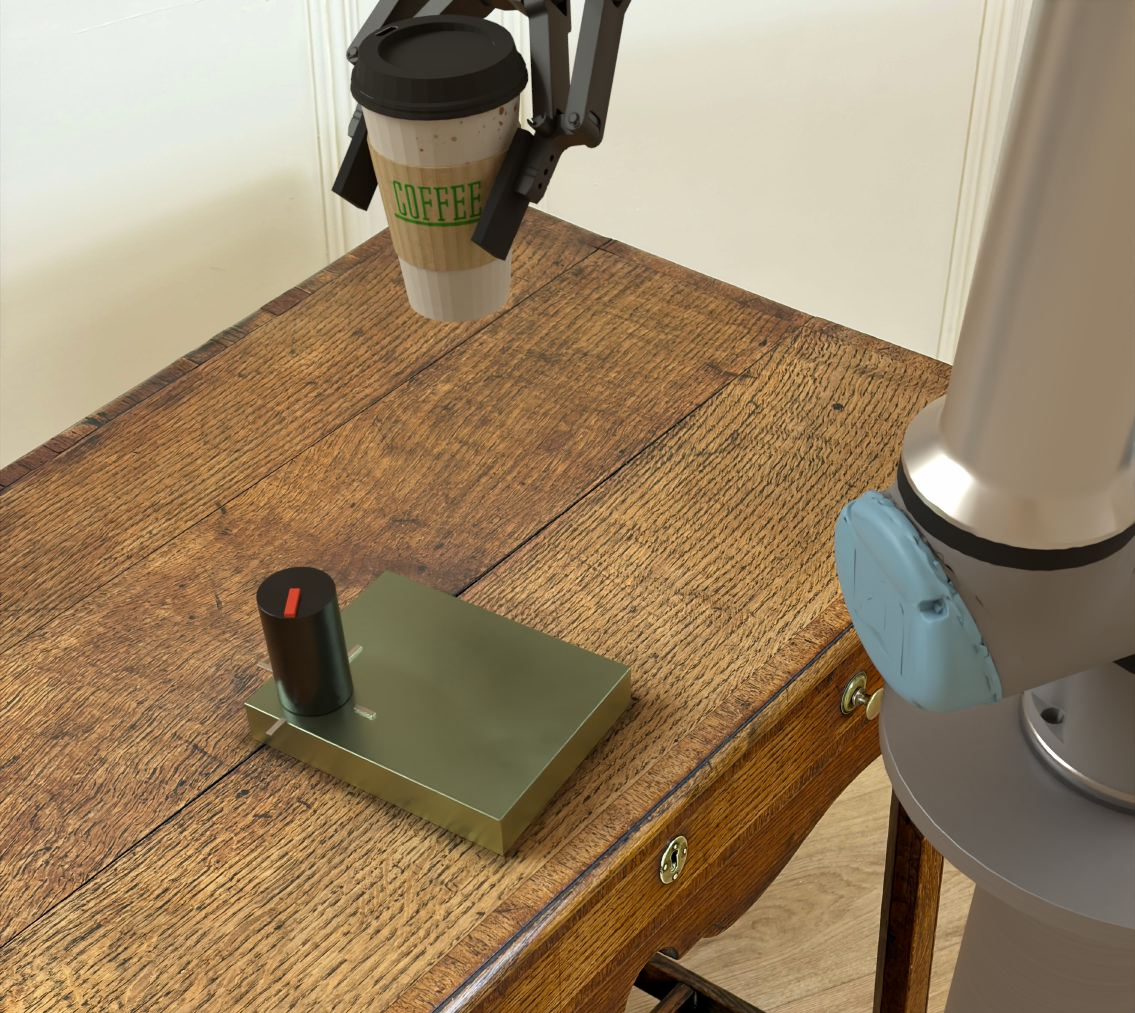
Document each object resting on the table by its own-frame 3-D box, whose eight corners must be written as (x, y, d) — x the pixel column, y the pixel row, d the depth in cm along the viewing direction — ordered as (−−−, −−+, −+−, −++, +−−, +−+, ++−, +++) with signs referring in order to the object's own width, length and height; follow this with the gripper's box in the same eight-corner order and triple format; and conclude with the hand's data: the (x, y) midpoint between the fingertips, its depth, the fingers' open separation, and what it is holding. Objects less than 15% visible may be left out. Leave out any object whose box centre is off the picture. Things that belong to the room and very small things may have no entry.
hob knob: (284, 663, 95) (261, 562, 89) (357, 663, 95) (339, 561, 89) (272, 715, 92) (248, 614, 86) (348, 716, 92) (329, 614, 86)
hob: (631, 703, 96) (631, 665, 94) (490, 872, 87) (486, 835, 85) (375, 598, 103) (369, 560, 101) (221, 744, 95) (210, 706, 92)
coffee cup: (469, 356, 92) (446, 100, 81) (345, 306, 96) (307, 57, 86) (572, 283, 97) (563, 34, 86) (450, 239, 102) (426, -4, 91)
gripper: (769, -83, 86) (603, 304, 89) (454, -151, 96) (313, 199, 99) (718, -164, 80) (540, 256, 83) (385, -229, 90) (236, 149, 92)
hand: (416, 225), depth 91 cm, fingers closed on coffee cup, 10 cm apart
